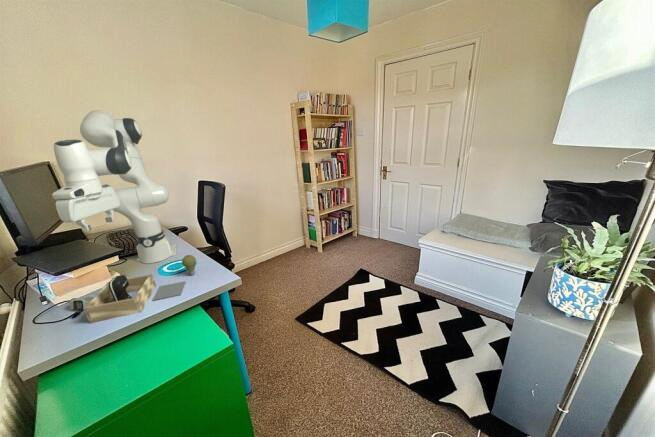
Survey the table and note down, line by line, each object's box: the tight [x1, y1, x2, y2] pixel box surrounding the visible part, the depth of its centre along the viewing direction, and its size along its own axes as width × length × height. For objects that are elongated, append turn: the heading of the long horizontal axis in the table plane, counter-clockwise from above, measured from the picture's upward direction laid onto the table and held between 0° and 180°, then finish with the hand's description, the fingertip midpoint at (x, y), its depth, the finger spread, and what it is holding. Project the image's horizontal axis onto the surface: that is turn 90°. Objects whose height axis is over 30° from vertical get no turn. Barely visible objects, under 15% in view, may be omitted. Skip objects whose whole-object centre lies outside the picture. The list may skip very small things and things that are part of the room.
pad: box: [151, 281, 186, 302], centre depth 106 cm, size 10×10×1 cm
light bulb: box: [181, 254, 197, 276], centre depth 117 cm, size 6×6×10 cm
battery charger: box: [109, 274, 133, 302], centre depth 99 cm, size 7×4×11 cm, turn 19°
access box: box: [83, 273, 157, 324], centre depth 99 cm, size 18×16×6 cm
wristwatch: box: [69, 296, 95, 312], centre depth 99 cm, size 9×6×5 cm
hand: (99, 226), depth 92 cm, fingers open, 8 cm apart
